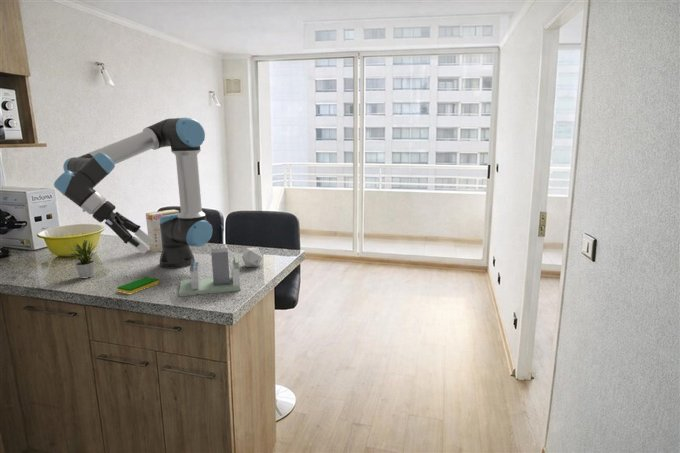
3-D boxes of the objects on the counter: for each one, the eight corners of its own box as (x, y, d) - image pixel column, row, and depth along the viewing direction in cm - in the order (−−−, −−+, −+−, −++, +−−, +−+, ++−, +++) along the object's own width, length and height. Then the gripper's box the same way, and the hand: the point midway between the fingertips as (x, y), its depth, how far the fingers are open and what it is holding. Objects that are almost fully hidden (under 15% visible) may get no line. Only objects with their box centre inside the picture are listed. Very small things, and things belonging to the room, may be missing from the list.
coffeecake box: (177, 244, 238) (174, 209, 234) (182, 247, 233) (179, 210, 229) (148, 249, 229) (145, 212, 225) (154, 252, 223) (150, 214, 219)
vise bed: (181, 284, 176) (179, 257, 173) (238, 278, 181) (236, 253, 179) (179, 296, 162) (176, 267, 160) (240, 290, 168) (238, 262, 166)
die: (252, 271, 193) (265, 251, 194) (235, 261, 194) (247, 241, 195) (256, 272, 201) (268, 253, 203) (239, 262, 202) (251, 243, 203)
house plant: (69, 273, 191) (64, 236, 187) (105, 269, 196) (100, 233, 193) (63, 283, 178) (58, 244, 174) (102, 278, 183) (97, 240, 180)
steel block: (213, 281, 174) (211, 249, 172) (229, 279, 176) (227, 247, 173) (213, 286, 169) (211, 253, 166) (229, 284, 170) (227, 251, 167)
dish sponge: (159, 284, 177) (159, 278, 177) (130, 295, 165) (130, 289, 164) (146, 282, 180) (146, 276, 180) (117, 293, 168) (116, 287, 167)
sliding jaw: (193, 279, 176) (191, 259, 174) (199, 278, 176) (198, 258, 175) (191, 290, 164) (189, 268, 162) (198, 289, 164) (196, 268, 162)
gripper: (99, 210, 167) (146, 246, 174) (82, 221, 143) (136, 263, 150) (113, 195, 167) (159, 232, 174) (98, 205, 144) (152, 246, 151)
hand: (149, 246), depth 162 cm, fingers open, 13 cm apart
